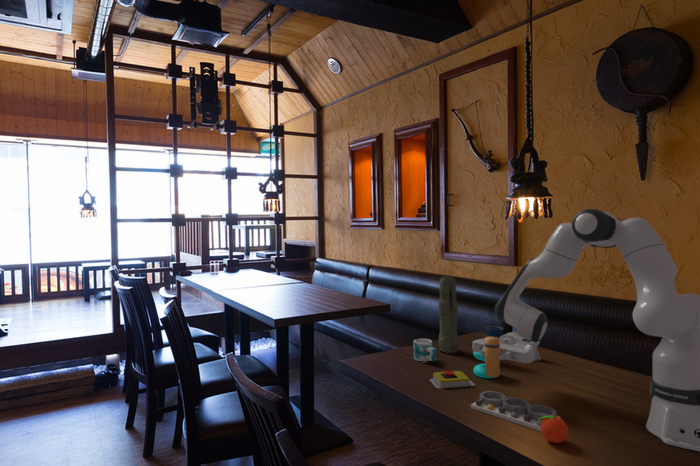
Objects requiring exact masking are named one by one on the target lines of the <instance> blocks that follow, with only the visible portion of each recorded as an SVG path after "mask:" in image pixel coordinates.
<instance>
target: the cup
mask: <svg viewBox="0 0 700 466" xmlns="http://www.w3.org/2000/svg"><path fill="white" fill-rule="evenodd" d="M485 331H486V337H497V338H500V337H501V336H502V335H504V327H501V326H498V325H497V326H496V325H490V326H486V330H485ZM501 364H502V360H500V365H501Z"/></svg>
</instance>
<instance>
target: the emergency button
mask: <svg viewBox="0 0 700 466" xmlns="http://www.w3.org/2000/svg"><path fill="white" fill-rule="evenodd" d="M432 376H433V377H432V378H430V379H429V382H430V383H431V382H432V383H431V384H432V385H433V386H434V387H435V388H436V389H448V388H449V389H450V388H463V387H473V386H475V383H474V382H473V381H472V380H470V377H468V376H467V375H466V374H465V373H464V372H462V371H461V370H445V371H437V372H436V371H435V372H433V374H432Z"/></svg>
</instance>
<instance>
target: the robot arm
mask: <svg viewBox="0 0 700 466" xmlns="http://www.w3.org/2000/svg"><path fill="white" fill-rule="evenodd" d="M588 246H590V247H592V248H593V247H594V248H602V249H605V248H606V249H610V248H616V247H617V248H618V250H619V252H620V253H621V256H622V257H623V260H624V261H625V263H626V266H627V268H628V270H629V273H630V274H631V276H632V279H633V281H634V285H635V289H636V304H635V306H634V307H633V310H632V320H633V322H634V324H635V327H636V328H637V329H638V330H639V331H640V332H641V333H643V334H646V335H647V336H652V337H657V338H658V337H659V338H661V340H660V342H659V344H658V345H657V346H656V347H655V349H654V350H653V352H652V378H651V379H650V384H649V385H650V386H649V389H650V390H649V393H650V399H651V403H650V404H651V405H650V410H649V415H648V419H647V422H646V424H645V428H646V429H647V431H648V432H650V433H651V434H652V435H654V436H656V437H657V438H659V439H660V440H661V441H662V442H663V443H664V444H667V445H669V446H673V447H678V448H681V449H687V450H691V451H697V452H699V453H700V294H695V293H682V294H679V293H678V291H677V289H676V283H675V278H676V276H677V275H678V267H677V265H676V264H675V262H674V259H673V258H672V256H671V254H670V252H669V250H668V248H667V247H666V244H665V243H664V241H663V240H662V239H661V237H660V235H659V234H658V232H657V231H656V229H654V227H653V226H652V225H651V223H649V221H647V219H645V218H643V217H630V218H628V219H625V220H621V219H620V218H619V217H616V216H614V215H612V214H611V213H609V212H607V211H603V210H600V209H597V208H587V209H582V210H580V211H579V212H578V213H576V214H575V216H574V217H573V219H572V221H571V222H562V223H560V224H559V225H557V227H556V228H555V229H554V231H553V232H552V234H551V235H550V237H549V238H548V240H547V242H546V244H545V246H544V248H543V250H542V251H541V253H540V254H539V255H538V256H536V257H533V258H530V259H529V260H528V261H526V262H525V264H524V265H523V267H522V268H521V269H520V270H519V272H518V273H517V274H516V276H515V277H514V279H513V281H512V282H511V283H510V285H509V286H508V287H507V289H506V290H505V292H504V293H503V295H501V297H500V298H499V299H498V301H497V302H496V303H495V305H494V313H495V314H494V315H495V316H496V318H497V320H498V321H501V322H502V323H505V324H506V325H507V324H508V325H509V326H511V327H512V328H515V330H513V331H512V332H507V333H506V334H503V335H502V336H501V337H500V338H499V343H500V353H499V354H497V359H499V360H501V361H503V360H508V361H514V362H517V363H523V364H530V363H533V362H536V361H535V348H536V347H537V348H538V346H539V344H540V342H541V341H542V340H543V338H544V337H545V336H546V333H547V331H548V328H549V321H548V317H547V314H546V313H545V312H543V311H541V310H539V309H538V308H536V307H534V306H531V305H529V304H528V303H526V302H523V301H522V300H520V298H519V297H520V296H521V294H522V293H523V292H524V290H525V289H526V287H527V285H528V284H529V283H530V282H531V280H533V279H536V278H544V279H546V278H547V279H561V278H565V277H567V276H568V275H570V274H571V272H573V270H574V268H575V266H576V265H577V262H578V260H579V258H580V256H581V254H582V252H583V250H584V249H585V248H587V247H588ZM472 351H474V352H478V353H481V355H482V356H485V337H484V338H479V339H475V340H473V341H472Z"/></svg>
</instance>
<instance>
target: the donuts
mask: <svg viewBox="0 0 700 466" xmlns="http://www.w3.org/2000/svg"><path fill="white" fill-rule="evenodd" d="M472 351H473V350H472ZM472 354H473V357H474V358H475V359H477V360H479V361H483V362H485V356H482V355H481V353H478V352H474V351H473V352H472ZM472 370H473V373H474V375H475V376H477V377H479V378H482V379H496V378H497V377H489V376H487V375H485V363H478V364H477V365H475V366H474V367H473V369H472Z"/></svg>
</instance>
